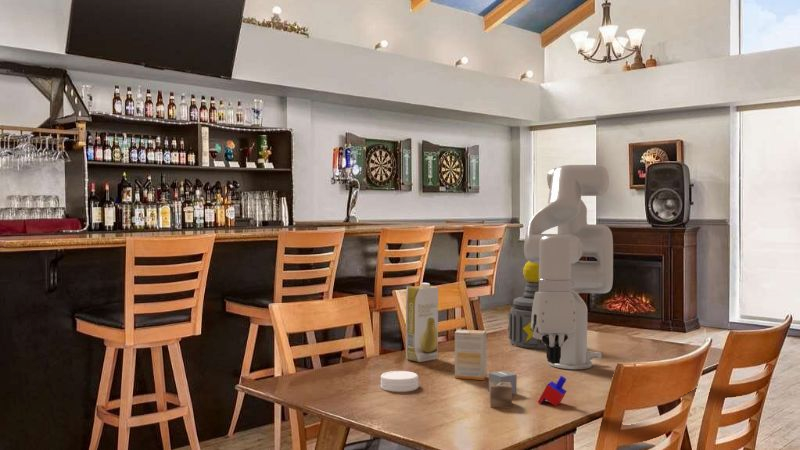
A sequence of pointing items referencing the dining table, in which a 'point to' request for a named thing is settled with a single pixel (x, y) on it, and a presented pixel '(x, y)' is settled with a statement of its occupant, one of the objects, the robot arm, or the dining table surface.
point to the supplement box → (470, 354)
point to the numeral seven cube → (500, 394)
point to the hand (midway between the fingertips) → (553, 362)
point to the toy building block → (554, 392)
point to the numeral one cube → (504, 378)
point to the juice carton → (422, 323)
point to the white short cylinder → (399, 381)
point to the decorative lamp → (525, 311)
